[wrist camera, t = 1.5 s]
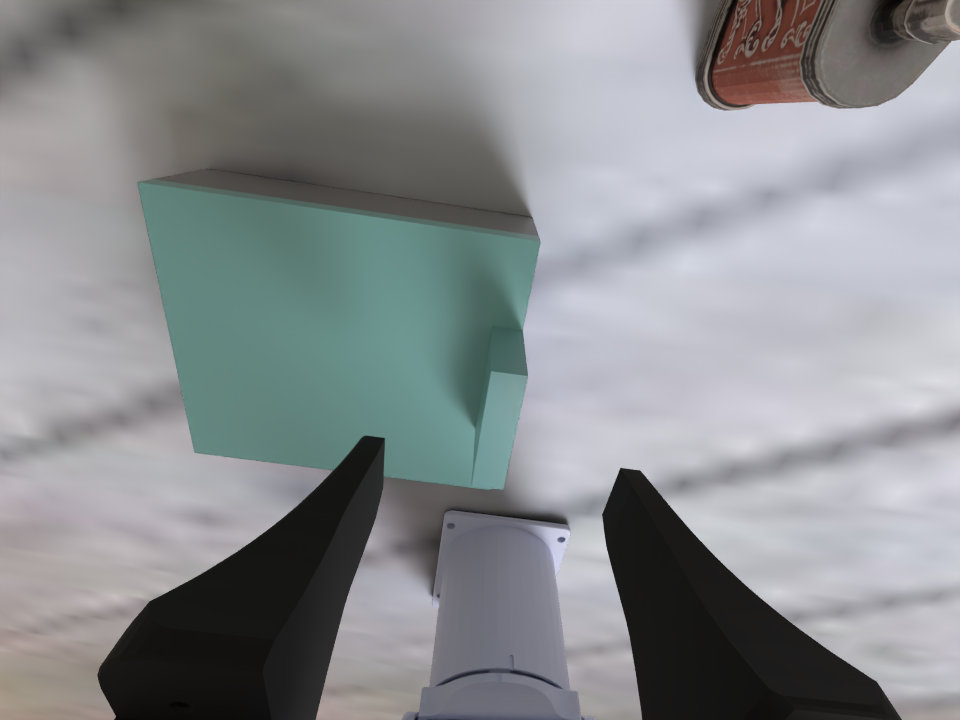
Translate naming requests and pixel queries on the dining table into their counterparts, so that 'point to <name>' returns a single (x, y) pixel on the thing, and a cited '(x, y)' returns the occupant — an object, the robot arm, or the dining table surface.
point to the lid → (342, 332)
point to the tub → (356, 200)
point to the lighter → (821, 50)
